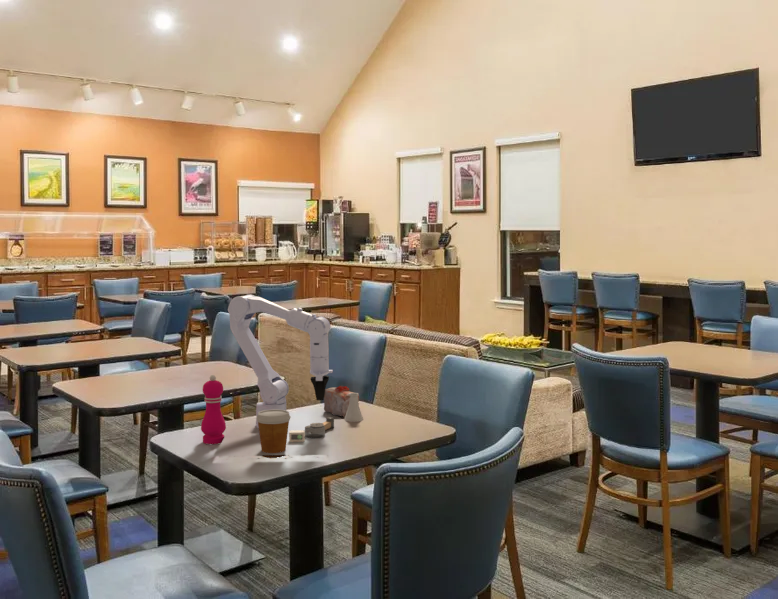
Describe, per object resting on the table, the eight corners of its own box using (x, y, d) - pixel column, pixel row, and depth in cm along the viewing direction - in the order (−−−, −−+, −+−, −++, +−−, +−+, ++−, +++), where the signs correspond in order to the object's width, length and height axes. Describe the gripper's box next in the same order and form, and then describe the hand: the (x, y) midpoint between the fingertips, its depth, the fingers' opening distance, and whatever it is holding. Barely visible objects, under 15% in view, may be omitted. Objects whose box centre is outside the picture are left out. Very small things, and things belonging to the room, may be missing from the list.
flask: (366, 421, 255) (366, 391, 254) (363, 427, 247) (363, 396, 247) (344, 421, 255) (344, 391, 254) (341, 426, 248) (341, 395, 247)
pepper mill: (231, 440, 230) (230, 374, 228) (213, 446, 224) (212, 378, 222) (214, 437, 234) (213, 372, 232) (196, 442, 228) (194, 375, 226)
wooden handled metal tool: (319, 438, 227) (319, 428, 226) (301, 436, 229) (301, 426, 229) (340, 427, 240) (340, 417, 240) (323, 425, 242) (323, 416, 242)
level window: (289, 443, 223) (289, 433, 222) (289, 440, 226) (289, 430, 226) (304, 443, 223) (304, 433, 223) (304, 440, 226) (304, 430, 226)
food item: (362, 416, 262) (362, 387, 262) (343, 419, 257) (343, 390, 257) (338, 409, 273) (338, 381, 272) (320, 412, 268) (320, 384, 267)
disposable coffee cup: (267, 449, 221) (267, 407, 220) (296, 452, 218) (296, 410, 217) (249, 457, 212) (249, 415, 211) (280, 461, 209) (279, 418, 208)
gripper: (332, 359, 231) (332, 404, 232) (332, 352, 245) (333, 394, 246) (308, 360, 230) (309, 405, 231) (310, 353, 245) (311, 395, 246)
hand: (320, 399), depth 239 cm, fingers closed
